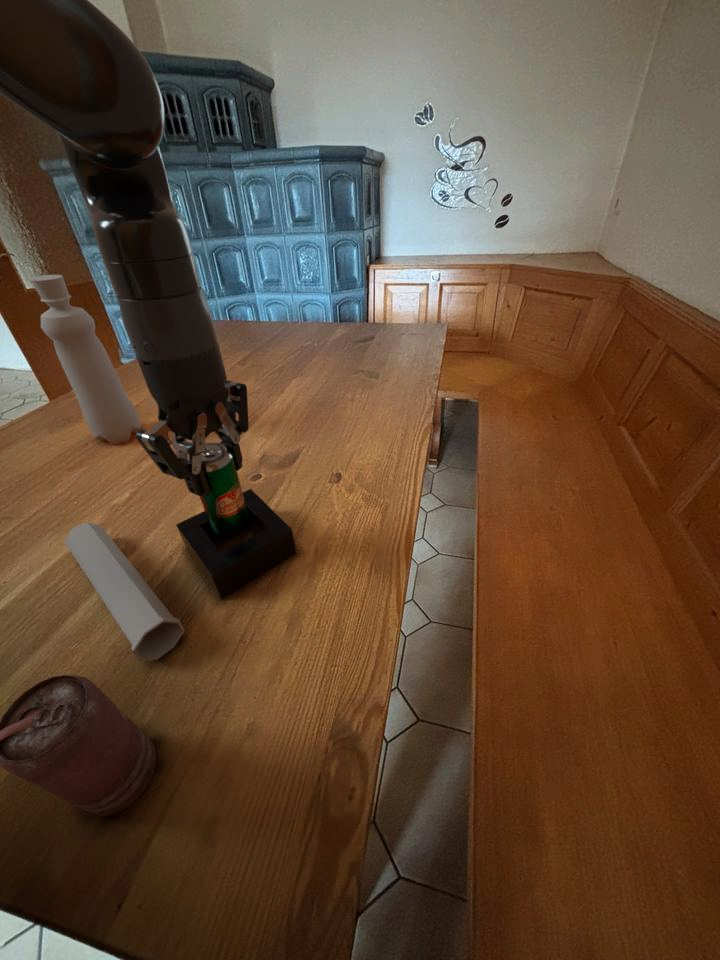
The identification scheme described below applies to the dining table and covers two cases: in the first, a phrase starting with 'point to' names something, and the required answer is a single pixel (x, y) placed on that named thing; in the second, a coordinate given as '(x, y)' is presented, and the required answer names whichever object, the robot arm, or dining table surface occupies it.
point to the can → (76, 745)
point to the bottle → (86, 364)
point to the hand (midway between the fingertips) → (218, 480)
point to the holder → (239, 547)
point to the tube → (124, 592)
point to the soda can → (223, 491)
